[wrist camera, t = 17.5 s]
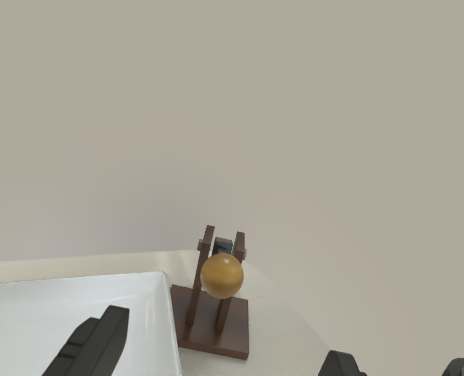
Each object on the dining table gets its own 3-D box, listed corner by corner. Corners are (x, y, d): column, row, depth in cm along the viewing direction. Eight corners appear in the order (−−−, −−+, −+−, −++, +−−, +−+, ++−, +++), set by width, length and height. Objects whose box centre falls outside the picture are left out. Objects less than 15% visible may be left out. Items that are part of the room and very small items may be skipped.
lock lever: (240, 310, 20) (250, 263, 20) (193, 301, 20) (204, 254, 20) (232, 264, 34) (238, 236, 34) (205, 258, 34) (211, 231, 34)
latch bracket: (246, 360, 33) (276, 270, 28) (152, 341, 32) (166, 247, 28) (246, 305, 41) (269, 229, 37) (171, 290, 41) (184, 211, 36)
